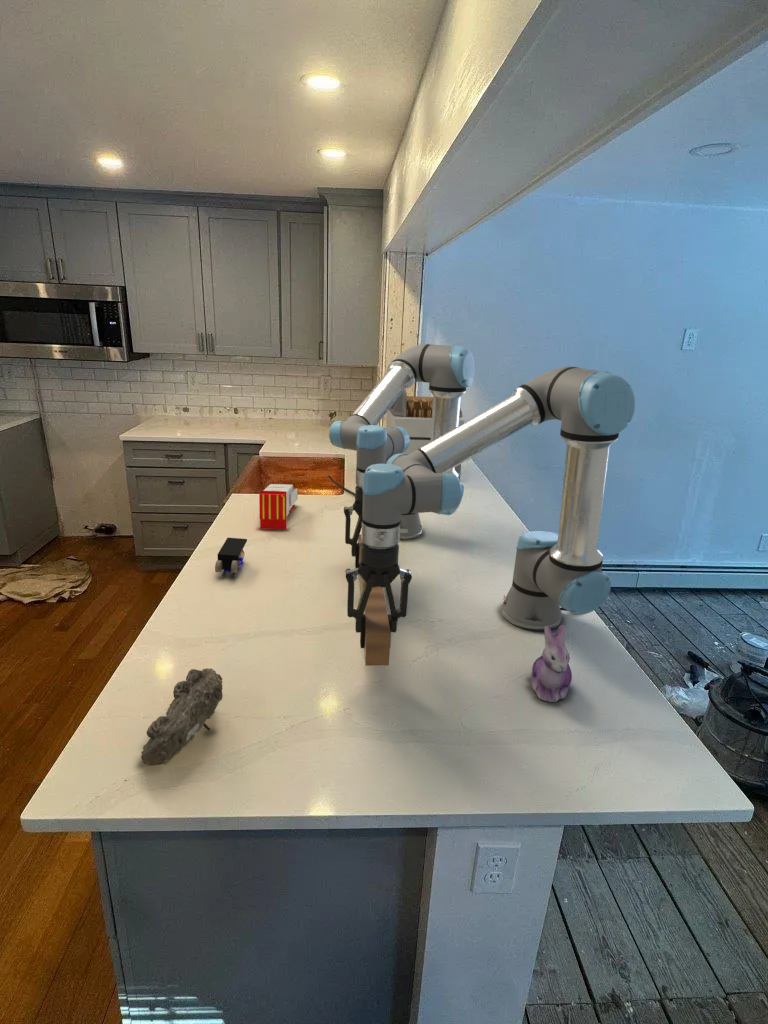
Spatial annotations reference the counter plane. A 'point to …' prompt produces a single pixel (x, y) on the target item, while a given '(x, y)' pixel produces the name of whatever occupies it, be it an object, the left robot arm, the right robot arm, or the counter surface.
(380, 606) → the bar
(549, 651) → the figurine
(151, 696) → the counter surface
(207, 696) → the fossil
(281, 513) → the toy
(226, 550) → the black toy car
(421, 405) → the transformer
